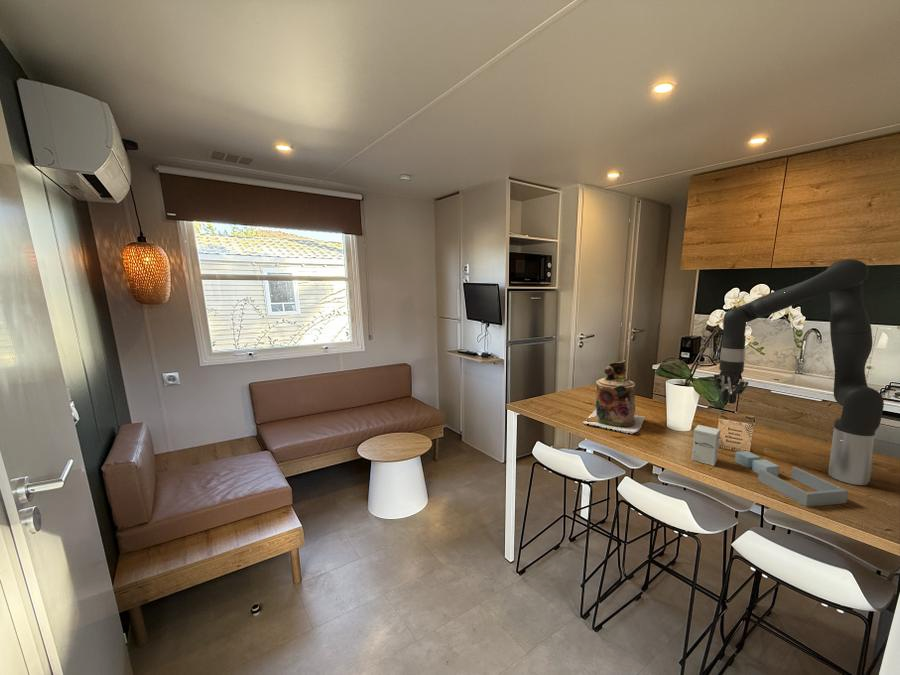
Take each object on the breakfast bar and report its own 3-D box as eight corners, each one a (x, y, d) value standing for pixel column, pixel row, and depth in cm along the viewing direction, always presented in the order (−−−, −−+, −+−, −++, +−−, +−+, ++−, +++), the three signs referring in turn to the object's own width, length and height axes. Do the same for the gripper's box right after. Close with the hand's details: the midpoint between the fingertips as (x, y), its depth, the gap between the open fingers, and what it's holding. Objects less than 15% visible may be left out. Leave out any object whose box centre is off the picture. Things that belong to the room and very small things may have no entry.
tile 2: (764, 469, 131) (765, 459, 130) (778, 476, 126) (779, 466, 125) (752, 470, 130) (753, 460, 130) (765, 477, 125) (766, 467, 125)
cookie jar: (595, 411, 196) (597, 353, 192) (646, 420, 181) (649, 358, 177) (581, 425, 176) (583, 361, 172) (636, 436, 161) (640, 367, 157)
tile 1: (746, 460, 138) (747, 451, 137) (759, 467, 133) (760, 456, 132) (734, 461, 137) (735, 451, 136) (747, 468, 132) (748, 457, 132)
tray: (794, 477, 125) (795, 466, 124) (846, 503, 110) (848, 490, 109) (758, 480, 123) (759, 469, 123) (805, 506, 108) (807, 494, 108)
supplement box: (690, 460, 138) (693, 429, 137) (695, 454, 144) (697, 423, 142) (714, 466, 133) (716, 434, 132) (718, 460, 138) (720, 428, 137)
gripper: (757, 362, 133) (753, 407, 135) (725, 355, 147) (722, 396, 149) (739, 363, 132) (735, 408, 135) (708, 356, 146) (705, 397, 148)
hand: (728, 401), depth 142 cm, fingers closed
